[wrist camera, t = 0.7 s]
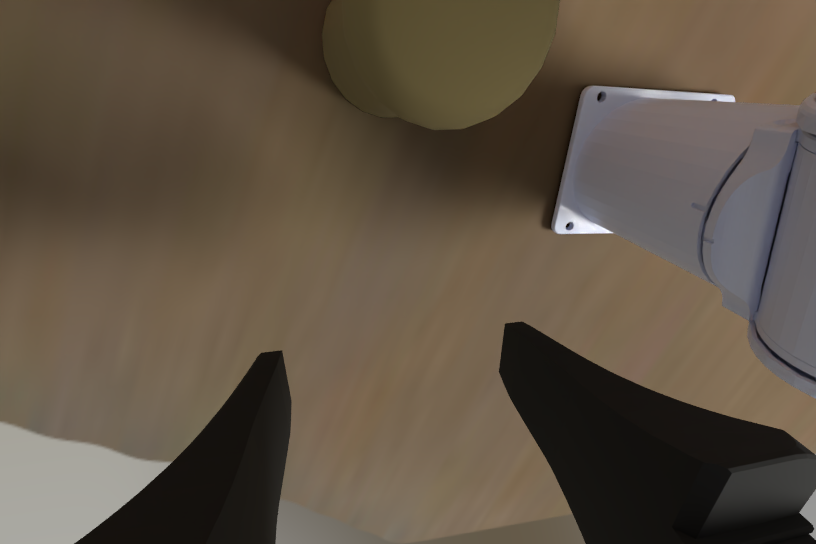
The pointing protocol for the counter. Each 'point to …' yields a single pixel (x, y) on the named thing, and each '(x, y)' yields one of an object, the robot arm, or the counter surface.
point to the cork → (436, 56)
